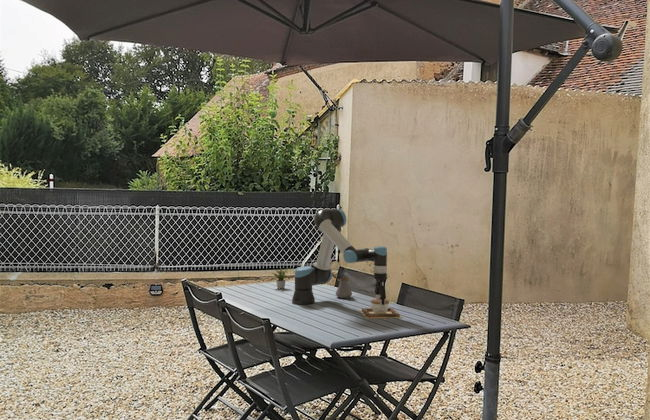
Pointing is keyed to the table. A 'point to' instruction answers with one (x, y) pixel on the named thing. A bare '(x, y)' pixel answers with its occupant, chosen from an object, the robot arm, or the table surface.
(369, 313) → the wooden square tray
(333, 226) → the robot arm
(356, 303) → the table surface
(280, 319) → the table surface
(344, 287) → the coffee pot
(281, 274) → the house plant
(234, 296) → the table surface
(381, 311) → the lidded jar
